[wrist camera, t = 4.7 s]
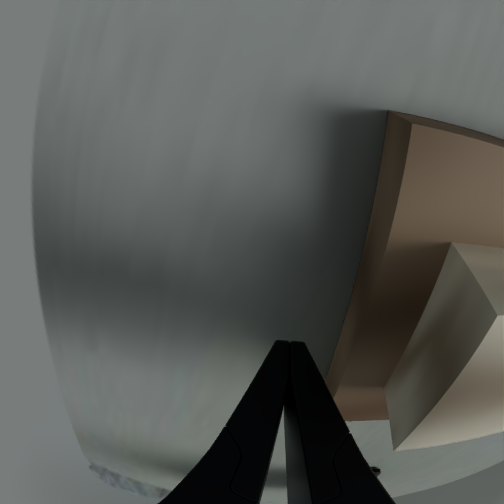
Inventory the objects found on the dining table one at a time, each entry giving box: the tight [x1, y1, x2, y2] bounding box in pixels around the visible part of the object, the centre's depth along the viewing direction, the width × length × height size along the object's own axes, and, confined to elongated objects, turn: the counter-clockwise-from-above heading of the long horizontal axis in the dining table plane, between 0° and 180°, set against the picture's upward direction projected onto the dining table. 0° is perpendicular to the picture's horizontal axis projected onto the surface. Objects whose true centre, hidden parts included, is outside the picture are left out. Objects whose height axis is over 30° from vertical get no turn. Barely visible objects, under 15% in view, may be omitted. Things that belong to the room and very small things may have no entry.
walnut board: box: [325, 110, 504, 421], centre depth 10 cm, size 13×13×2 cm
